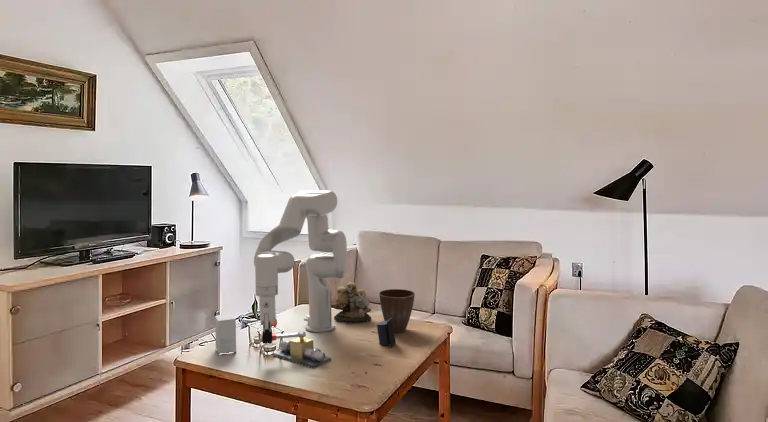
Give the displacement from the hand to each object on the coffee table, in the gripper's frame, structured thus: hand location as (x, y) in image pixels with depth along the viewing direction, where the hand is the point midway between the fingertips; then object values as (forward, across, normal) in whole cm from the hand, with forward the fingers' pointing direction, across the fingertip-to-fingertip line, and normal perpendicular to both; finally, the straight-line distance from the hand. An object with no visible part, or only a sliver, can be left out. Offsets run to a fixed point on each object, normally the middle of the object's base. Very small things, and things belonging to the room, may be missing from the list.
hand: (267, 342), depth 183 cm
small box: (+8, +17, +16) cm, 25 cm away
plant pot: (+7, +30, -52) cm, 61 cm away
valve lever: (0, +4, -6) cm, 7 cm away
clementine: (+8, +40, +1) cm, 41 cm away
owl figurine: (+7, +50, -35) cm, 62 cm away
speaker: (+8, +14, -44) cm, 47 cm away
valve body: (+8, +4, -12) cm, 15 cm away
